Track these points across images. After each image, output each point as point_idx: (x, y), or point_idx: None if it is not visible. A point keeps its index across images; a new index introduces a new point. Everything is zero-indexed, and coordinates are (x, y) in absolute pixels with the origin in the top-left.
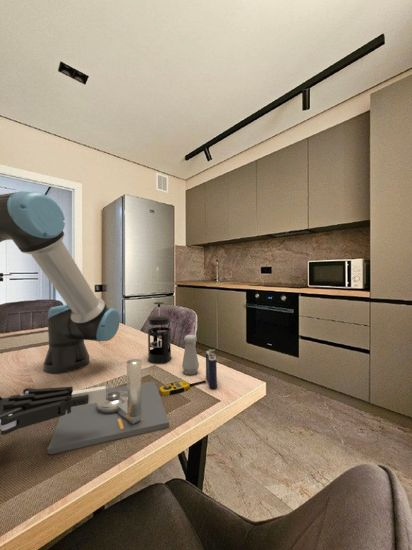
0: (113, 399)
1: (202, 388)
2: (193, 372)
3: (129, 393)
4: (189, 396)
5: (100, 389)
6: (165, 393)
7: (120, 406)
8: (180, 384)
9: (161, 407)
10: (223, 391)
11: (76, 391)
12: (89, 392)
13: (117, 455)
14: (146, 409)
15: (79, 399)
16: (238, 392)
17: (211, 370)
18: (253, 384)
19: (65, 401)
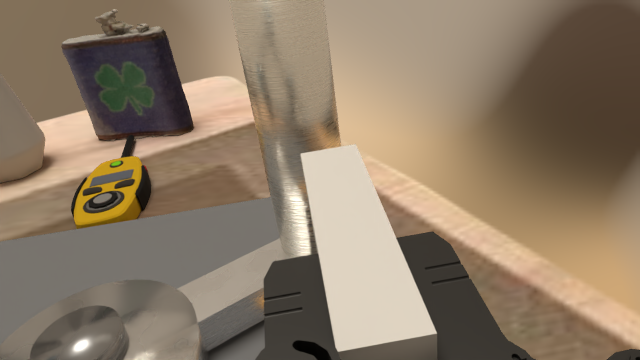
0: (125, 342)
1: (164, 146)
2: (42, 156)
3: (328, 139)
4: (193, 168)
5: (357, 163)
6: (132, 213)
7: (222, 302)
8: (112, 173)
9: (252, 206)
10: (215, 116)
11: (355, 308)
12: (384, 216)
13: (523, 321)
14: (241, 245)
15: (471, 284)
16: (239, 98)
17: (170, 68)
18: (218, 82)
19: (623, 351)
